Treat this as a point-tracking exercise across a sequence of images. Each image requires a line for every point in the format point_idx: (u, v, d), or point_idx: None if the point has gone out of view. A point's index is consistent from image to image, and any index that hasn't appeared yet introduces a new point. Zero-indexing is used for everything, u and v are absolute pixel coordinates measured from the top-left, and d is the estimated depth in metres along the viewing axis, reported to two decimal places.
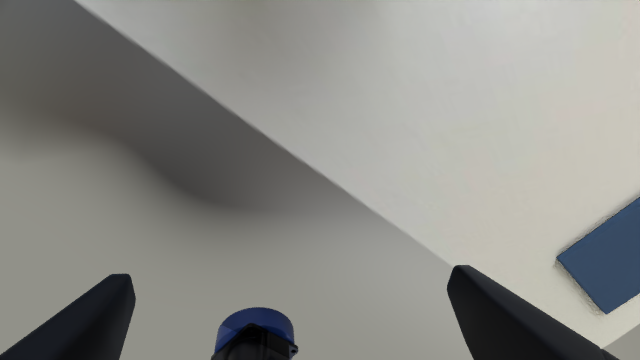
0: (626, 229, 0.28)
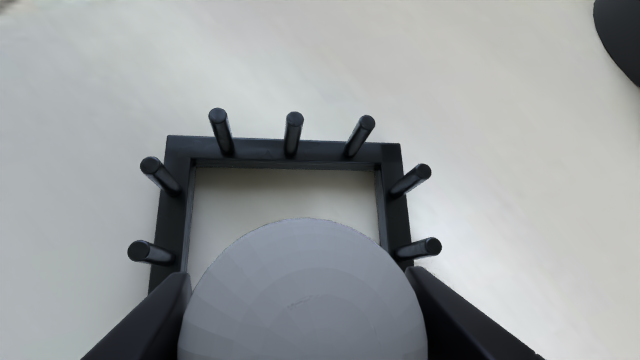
0: None
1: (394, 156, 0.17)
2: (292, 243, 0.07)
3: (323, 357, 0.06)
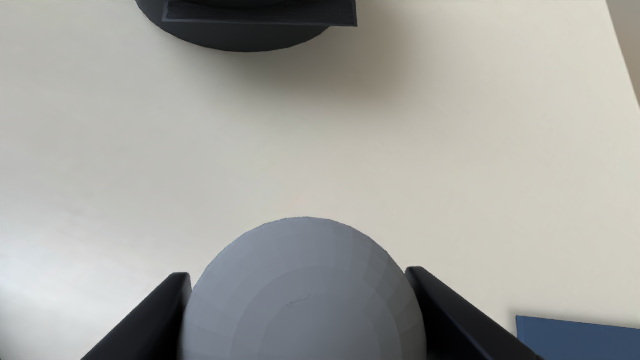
0: None
1: None
2: (291, 242, 0.07)
3: (321, 356, 0.06)
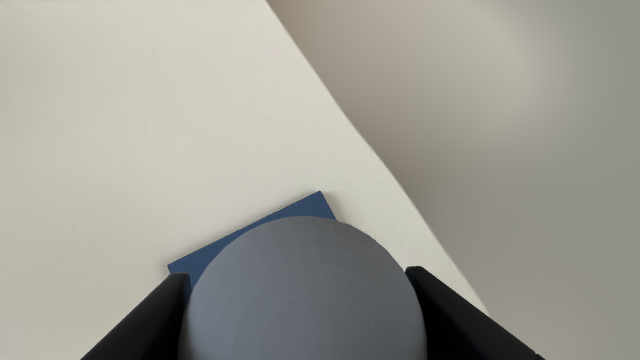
0: None
1: None
2: (292, 241, 0.07)
3: (322, 354, 0.06)
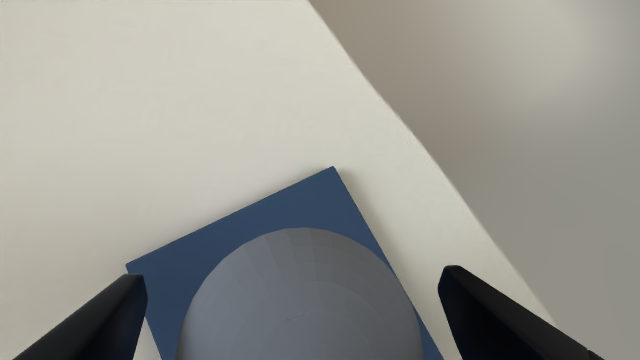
0: None
1: None
2: (289, 256, 0.07)
3: None
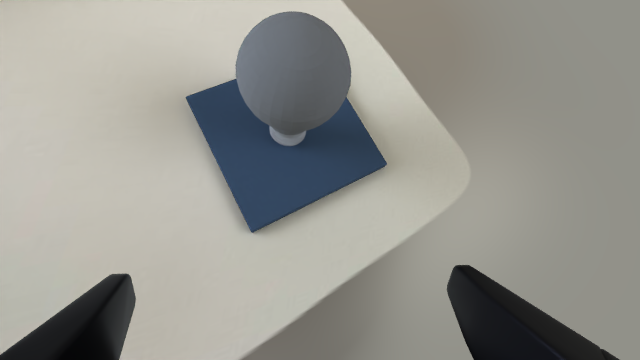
0: (236, 149, 0.23)
1: None
2: None
3: (298, 32, 0.14)
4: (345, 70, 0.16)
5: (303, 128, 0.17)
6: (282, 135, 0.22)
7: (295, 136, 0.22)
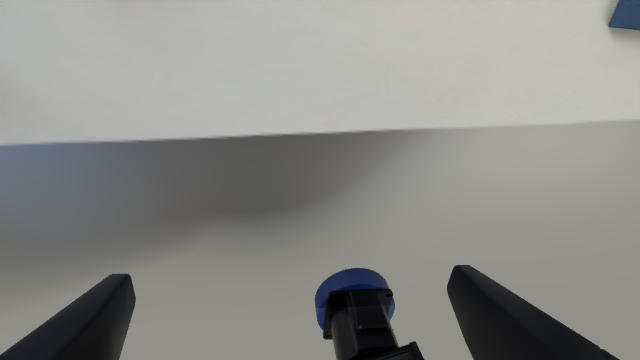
0: None
1: None
2: None
3: None
4: None
5: None
6: None
7: None
